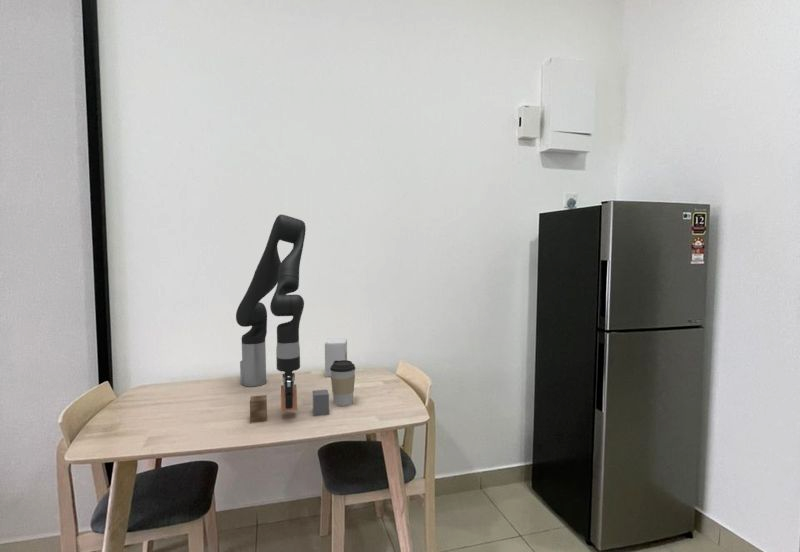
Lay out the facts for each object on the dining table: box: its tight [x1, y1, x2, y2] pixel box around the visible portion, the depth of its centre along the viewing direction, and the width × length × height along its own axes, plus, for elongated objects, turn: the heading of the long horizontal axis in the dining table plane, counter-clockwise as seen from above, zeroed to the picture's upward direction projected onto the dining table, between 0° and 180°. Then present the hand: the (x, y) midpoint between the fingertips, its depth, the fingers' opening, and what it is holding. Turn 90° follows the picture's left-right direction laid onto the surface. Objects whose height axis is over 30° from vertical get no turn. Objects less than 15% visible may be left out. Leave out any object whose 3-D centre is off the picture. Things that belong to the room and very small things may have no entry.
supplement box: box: [324, 338, 348, 378], centre depth 190 cm, size 9×9×15 cm
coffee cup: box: [330, 359, 356, 407], centre depth 155 cm, size 9×9×15 cm
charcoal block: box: [312, 389, 330, 417], centre depth 146 cm, size 5×5×7 cm
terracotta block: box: [280, 383, 298, 412], centre depth 144 cm, size 5×5×7 cm
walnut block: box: [249, 394, 268, 424], centre depth 141 cm, size 5×5×7 cm
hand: (289, 404), depth 144 cm, fingers closed on terracotta block, 5 cm apart
